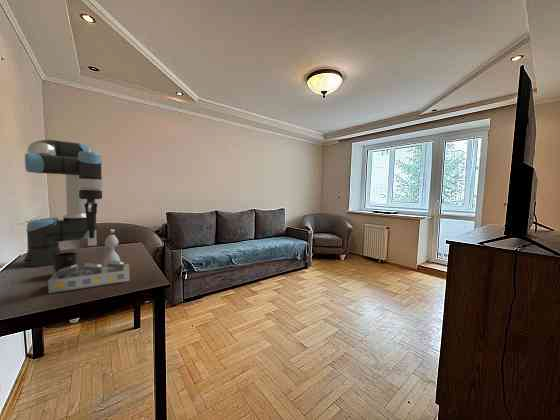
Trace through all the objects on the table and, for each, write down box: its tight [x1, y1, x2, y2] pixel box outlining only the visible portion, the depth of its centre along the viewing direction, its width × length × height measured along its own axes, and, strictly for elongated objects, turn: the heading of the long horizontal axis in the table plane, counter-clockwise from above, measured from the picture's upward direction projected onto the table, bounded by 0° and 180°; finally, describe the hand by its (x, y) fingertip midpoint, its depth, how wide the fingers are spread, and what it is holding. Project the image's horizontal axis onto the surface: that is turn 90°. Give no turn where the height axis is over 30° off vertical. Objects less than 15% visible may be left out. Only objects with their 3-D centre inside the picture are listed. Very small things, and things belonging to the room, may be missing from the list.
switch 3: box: [107, 261, 125, 269], centre depth 105 cm, size 5×6×2 cm
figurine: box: [102, 228, 122, 267], centre depth 119 cm, size 8×8×20 cm
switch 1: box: [55, 263, 80, 277], centre depth 96 cm, size 5×6×2 cm
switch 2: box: [82, 262, 103, 272], centre depth 100 cm, size 5×6×2 cm
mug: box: [52, 251, 78, 273], centre depth 107 cm, size 8×12×10 cm
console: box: [47, 263, 131, 294], centre depth 100 cm, size 10×26×6 cm, turn 124°
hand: (92, 245), depth 99 cm, fingers closed
